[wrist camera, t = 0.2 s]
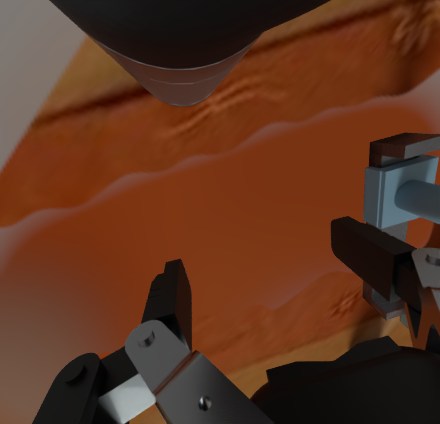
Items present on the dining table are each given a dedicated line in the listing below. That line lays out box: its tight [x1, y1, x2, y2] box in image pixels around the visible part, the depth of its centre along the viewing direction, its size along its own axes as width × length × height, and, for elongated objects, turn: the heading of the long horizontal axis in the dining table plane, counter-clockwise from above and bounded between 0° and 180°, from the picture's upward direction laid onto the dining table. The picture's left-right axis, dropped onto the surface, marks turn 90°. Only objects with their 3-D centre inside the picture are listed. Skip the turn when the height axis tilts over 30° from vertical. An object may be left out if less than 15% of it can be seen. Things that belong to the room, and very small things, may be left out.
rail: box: [363, 133, 440, 320], centre depth 32 cm, size 28×5×5 cm, turn 13°
